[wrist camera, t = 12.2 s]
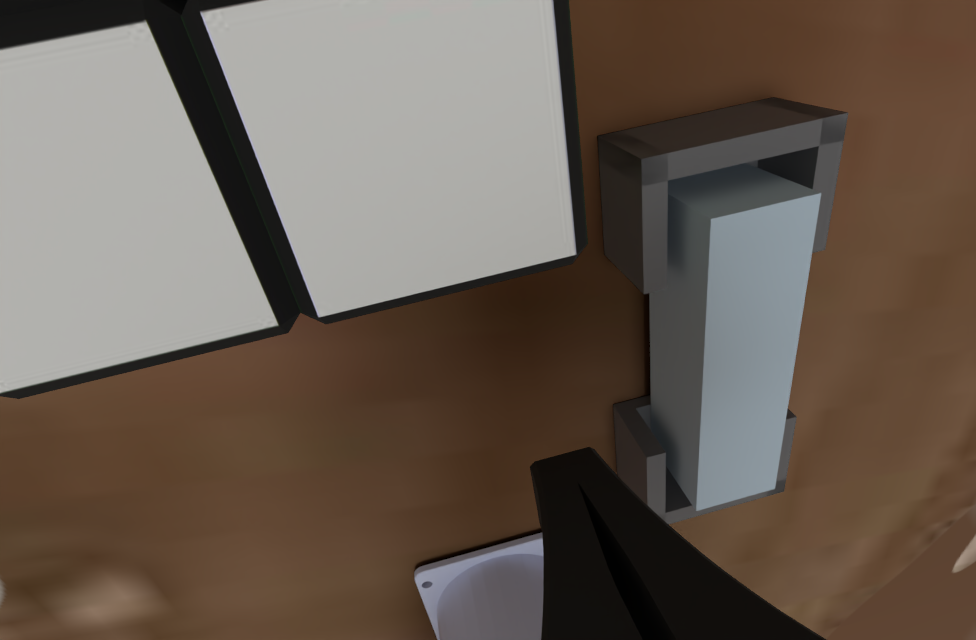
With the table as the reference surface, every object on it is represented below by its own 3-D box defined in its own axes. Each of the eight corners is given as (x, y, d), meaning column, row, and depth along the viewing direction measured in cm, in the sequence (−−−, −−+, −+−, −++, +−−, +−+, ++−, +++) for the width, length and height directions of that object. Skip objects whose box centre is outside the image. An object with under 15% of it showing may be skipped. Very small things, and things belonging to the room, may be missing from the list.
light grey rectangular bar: (719, 424, 25) (775, 488, 22) (651, 443, 25) (695, 511, 22) (739, 160, 19) (821, 192, 16) (648, 182, 19) (710, 219, 15)
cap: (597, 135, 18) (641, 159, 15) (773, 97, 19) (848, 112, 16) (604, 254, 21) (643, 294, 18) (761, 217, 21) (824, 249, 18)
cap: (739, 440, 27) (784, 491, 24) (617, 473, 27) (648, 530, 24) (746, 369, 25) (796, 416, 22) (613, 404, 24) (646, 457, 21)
